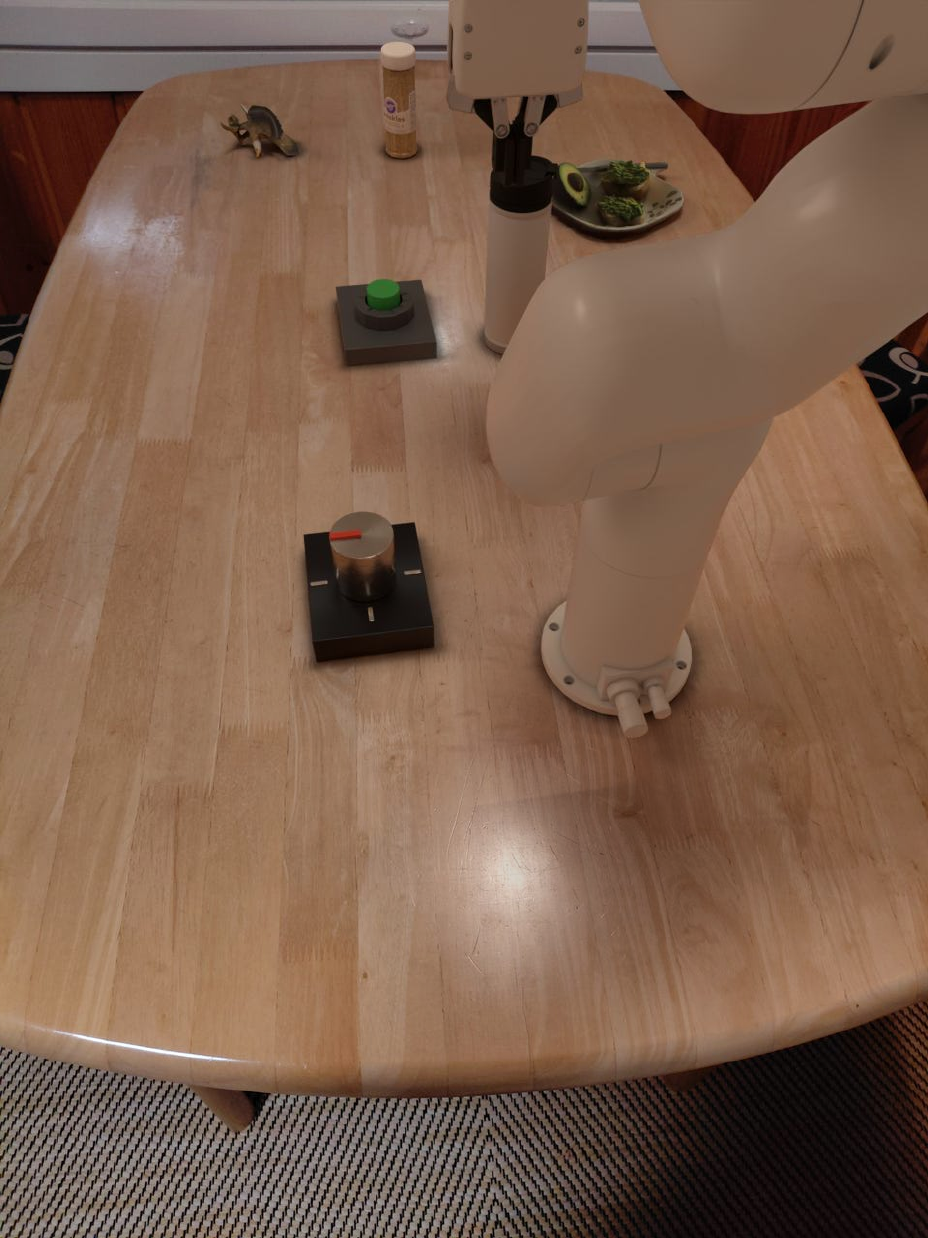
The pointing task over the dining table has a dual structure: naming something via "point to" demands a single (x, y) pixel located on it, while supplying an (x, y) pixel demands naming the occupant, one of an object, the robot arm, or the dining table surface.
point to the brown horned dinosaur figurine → (261, 129)
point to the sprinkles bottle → (399, 98)
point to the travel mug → (516, 248)
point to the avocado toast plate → (613, 197)
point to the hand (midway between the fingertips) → (510, 178)
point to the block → (385, 326)
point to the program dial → (363, 556)
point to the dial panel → (368, 604)
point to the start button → (383, 294)
